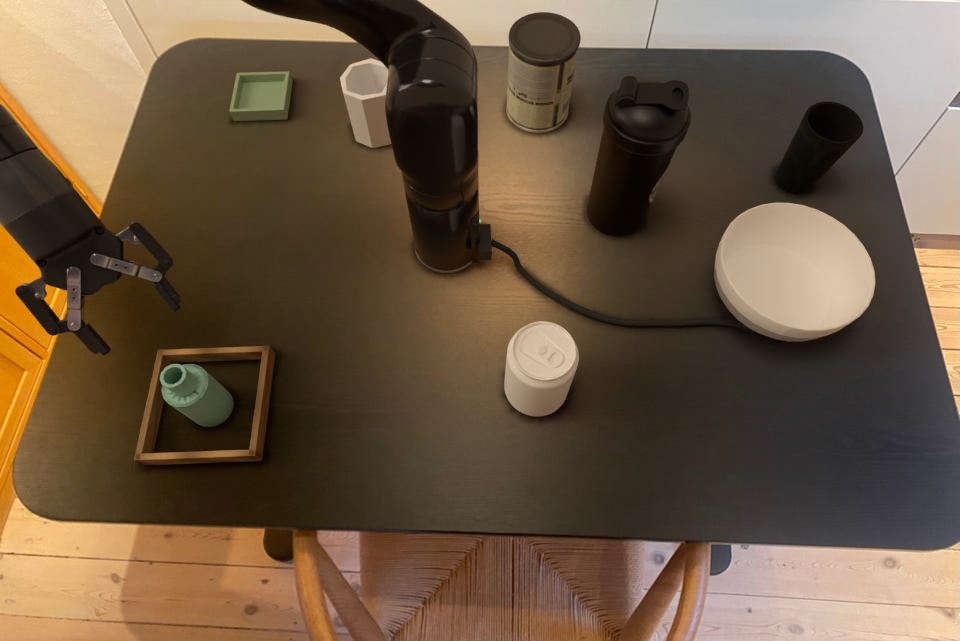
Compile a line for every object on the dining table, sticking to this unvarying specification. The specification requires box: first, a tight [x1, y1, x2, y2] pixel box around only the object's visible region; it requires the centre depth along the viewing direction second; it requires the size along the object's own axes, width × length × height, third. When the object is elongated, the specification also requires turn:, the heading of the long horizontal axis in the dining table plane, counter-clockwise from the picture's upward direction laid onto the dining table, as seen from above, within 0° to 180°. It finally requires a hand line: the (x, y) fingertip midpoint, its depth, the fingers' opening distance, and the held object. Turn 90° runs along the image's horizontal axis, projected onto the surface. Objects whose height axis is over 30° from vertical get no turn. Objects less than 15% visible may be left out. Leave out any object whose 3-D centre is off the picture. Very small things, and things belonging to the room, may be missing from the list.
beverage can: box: [503, 320, 580, 417], centre depth 72 cm, size 8×8×12 cm
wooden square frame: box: [133, 345, 276, 466], centre depth 75 cm, size 14×14×3 cm
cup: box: [774, 101, 864, 195], centre depth 87 cm, size 8×8×12 cm
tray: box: [228, 70, 294, 122], centre depth 99 cm, size 9×9×2 cm
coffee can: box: [505, 11, 582, 134], centre depth 93 cm, size 10×10×14 cm
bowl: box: [713, 202, 876, 343], centre depth 79 cm, size 19×19×9 cm
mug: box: [339, 57, 391, 149], centre depth 93 cm, size 12×9×10 cm
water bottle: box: [586, 75, 692, 237], centre depth 79 cm, size 10×10×23 cm
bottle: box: [160, 363, 234, 428], centre depth 71 cm, size 5×5×11 cm
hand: (143, 330), depth 68 cm, fingers open, 8 cm apart
